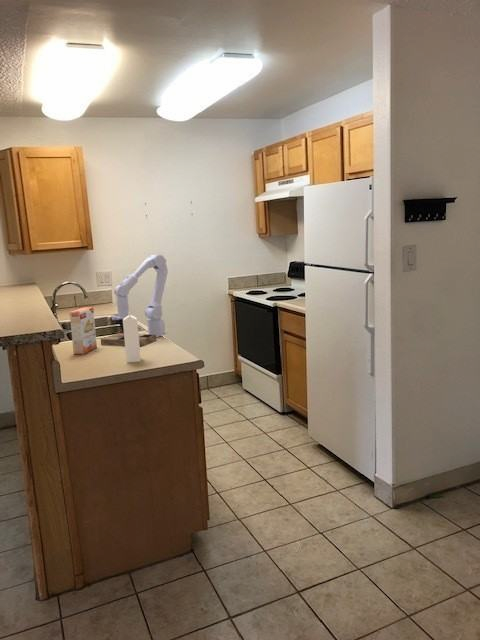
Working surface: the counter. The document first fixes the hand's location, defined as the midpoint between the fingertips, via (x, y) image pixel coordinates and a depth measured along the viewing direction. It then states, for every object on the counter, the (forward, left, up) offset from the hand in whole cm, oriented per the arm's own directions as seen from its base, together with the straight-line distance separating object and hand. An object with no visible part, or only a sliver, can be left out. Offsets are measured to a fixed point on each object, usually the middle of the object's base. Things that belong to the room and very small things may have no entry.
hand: (125, 333), depth 281 cm
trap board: (+3, +4, -4) cm, 7 cm away
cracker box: (+24, -7, -4) cm, 25 cm away
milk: (+35, +29, -4) cm, 46 cm away
